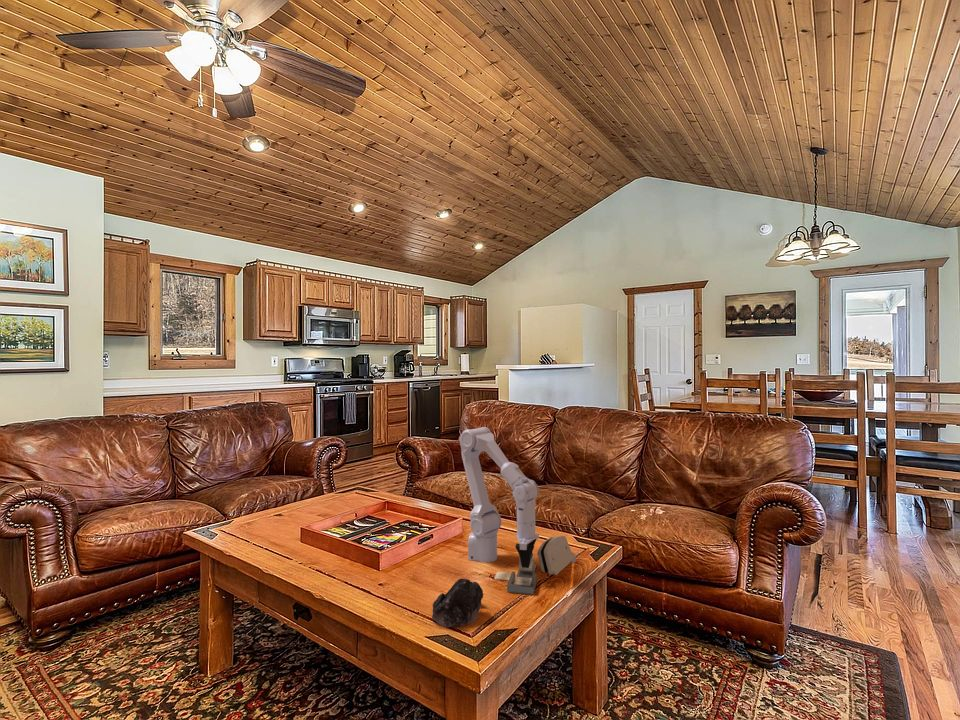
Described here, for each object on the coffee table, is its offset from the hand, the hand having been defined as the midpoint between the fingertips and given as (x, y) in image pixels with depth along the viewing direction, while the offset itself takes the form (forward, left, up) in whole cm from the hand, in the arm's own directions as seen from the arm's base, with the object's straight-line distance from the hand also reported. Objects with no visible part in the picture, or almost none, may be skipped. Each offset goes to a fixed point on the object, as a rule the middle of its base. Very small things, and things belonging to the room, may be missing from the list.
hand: (526, 564), depth 153 cm
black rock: (-15, -27, -4) cm, 31 cm away
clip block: (0, 0, -1) cm, 1 cm away
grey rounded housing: (+9, +8, -4) cm, 13 cm away
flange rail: (0, -4, -3) cm, 5 cm away
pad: (-6, -4, -3) cm, 8 cm away
